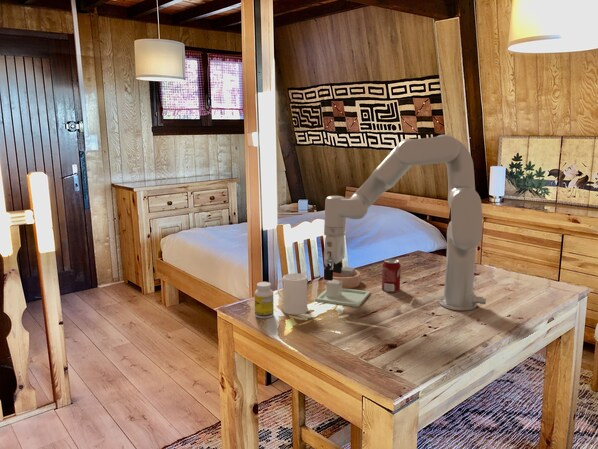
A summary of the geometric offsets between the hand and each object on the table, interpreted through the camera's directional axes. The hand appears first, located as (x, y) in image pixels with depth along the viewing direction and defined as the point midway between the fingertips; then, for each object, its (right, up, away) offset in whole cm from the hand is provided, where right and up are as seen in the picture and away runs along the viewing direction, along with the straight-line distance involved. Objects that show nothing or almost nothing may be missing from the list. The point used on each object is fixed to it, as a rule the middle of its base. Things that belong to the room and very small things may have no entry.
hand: (332, 276), depth 181 cm
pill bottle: (-24, -12, -16) cm, 31 cm away
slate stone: (+7, -4, +16) cm, 18 cm away
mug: (-15, -10, -10) cm, 21 cm away
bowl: (+5, -5, +17) cm, 18 cm away
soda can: (+23, -7, +8) cm, 25 cm away
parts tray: (+4, -8, 0) cm, 9 cm away
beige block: (+1, -7, +1) cm, 8 cm away
